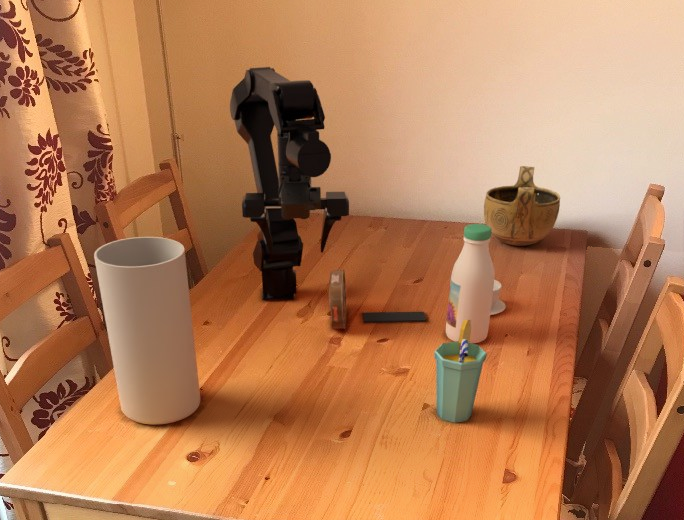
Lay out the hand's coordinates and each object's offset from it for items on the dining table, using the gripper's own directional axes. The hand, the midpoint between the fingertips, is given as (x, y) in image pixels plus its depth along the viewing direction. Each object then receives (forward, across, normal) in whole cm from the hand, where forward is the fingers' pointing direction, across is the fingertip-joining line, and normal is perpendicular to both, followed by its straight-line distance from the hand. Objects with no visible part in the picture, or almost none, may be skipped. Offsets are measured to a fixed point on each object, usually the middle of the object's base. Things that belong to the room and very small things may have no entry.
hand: (296, 252), depth 146 cm
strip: (+13, +18, 0) cm, 23 cm away
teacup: (+13, +36, +4) cm, 39 cm away
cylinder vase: (+13, -22, -33) cm, 42 cm away
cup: (+13, +24, -38) cm, 47 cm away
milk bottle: (+13, +31, -9) cm, 35 cm away
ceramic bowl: (+13, +52, +42) cm, 68 cm away
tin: (+13, +8, -1) cm, 15 cm away
